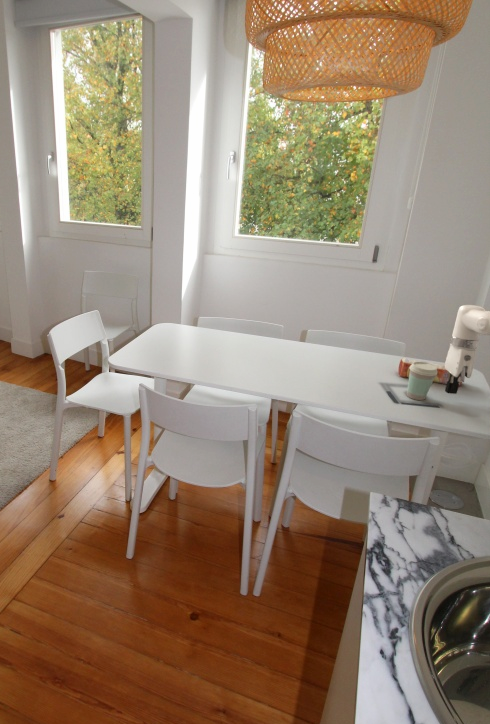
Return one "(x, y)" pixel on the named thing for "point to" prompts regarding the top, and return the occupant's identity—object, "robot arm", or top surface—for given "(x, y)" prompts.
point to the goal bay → (409, 403)
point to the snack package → (442, 372)
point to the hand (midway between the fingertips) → (450, 392)
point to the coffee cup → (420, 379)
